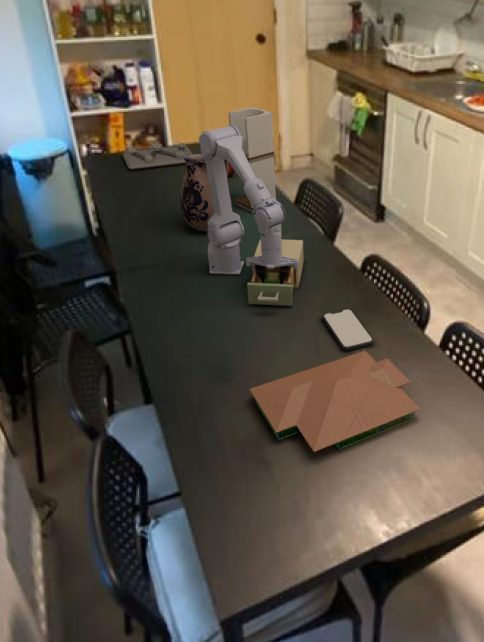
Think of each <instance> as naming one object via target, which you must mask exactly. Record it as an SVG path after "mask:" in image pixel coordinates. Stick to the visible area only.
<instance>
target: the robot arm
mask: <svg viewBox="0 0 484 642" xmlns="http://www.w3.org/2000/svg"><path fill="white" fill-rule="evenodd" d="M198 140H199V147H200V152H201V153H202V158H203V159H205V163H206V168H207V174H208V179H209V185H210V191H211V196H212V202H213V207H214V214H213V216H212V217H211V218H210V219H209V221H208V232H207V237H208V238H207V239H208V240H209V243H208V246H207V257H208V266H209V267H208V268H209V270H208V271H209V272H208V273H209V274H211V275H214V274H216V275H234V276H235V275H237V276H238V275H240V274H241V273H242V270H243V267H244V265H245V266H246V267H251V266H252V265H256V269H255V272H256V273H257V275H258V276H259V278H260V280H261V282H262V283H265V282H264V281H265V277H266V267H267V268H268V269H273V268H274V267H280V270H279V275H280V284H283V283H284V279H285V277H286V275H287V273H288V270H289V267H294V268H298V259H292V258H288V257H283V256H282V223H284V221H285V220H286V210H285V208H284V206H283V204H282V203H281V202H279V201H278V200H277V198H276V199H273V198H272V197H271V195H270V193H269V191H268V190H267V188H266V186H265V184H264V183H263V181H262V180H261V179H258V178H256V177H255V175H254V173H253V171H252V169H251V166H250V164H249V162H248V160H247V158H246V156H245V154H244V152H243V150H242V146H243V139H242V137H241V135H240V132H239V130H238V129H237V128H236V127H235V126H234V125H229V124H228V125H227V126H222V127H218V128H214V129H209V130H204V131H202V133H201V134H200V135H199V137H198ZM224 160H228V161H229V162H230V164H231V165H232V166H233V168H234V170H235V173H236V174H237V176H238V177H239V179H240V180H241V181H242V183H243V192H244V194H245V196H247V198H248V199H249V201H250V203H251V204H252V206H253V208H254V210H255V211H256V212H255V214H254V220H255V222H256V225H257V229H258V232H259V233H260V234H259V235H260V239H261V253H262V256H256V257H254V256H246V259H245V261H244V260H241V249H240V242H242V238H243V237H244V235H245V228H244V224H243V222H242V221H241V216H240V215H239V214H238V213H236V212H234V211H233V206H232V207H231V203H232V199H231V200H230V198H231V194H230V189H229V183H228V178H227V176H226V170H225V163H224Z"/></svg>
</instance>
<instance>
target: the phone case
mask: <svg viewBox="0 0 484 642" xmlns="http://www.w3.org/2000/svg"><path fill="white" fill-rule="evenodd" d="M322 321H323V322H324V324H325V326H326V327H327V328H328V330H329V332H330V333H331V335H332V336H333V337H334V339H335V340H336V342H337V344H338V345H339V347H340V348H341V350H342V351H344V352H351V351H355V350H359V349H364V348H367V347H371V346H373V344H374V338H373V336H371V334H370V333H369V331H368V330H367V329H366V327H365V326H364V325H363V323H362V322H361V321H360V320H359V318H358V317H357V315H356V314H355V313H354V312H353V310H352V309H351V308H350V309H349V308H345V309H340V310H336V311H330V312H327V313H326V312H325V313H323V315H322Z"/></svg>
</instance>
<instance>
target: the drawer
mask: <svg viewBox="0 0 484 642" xmlns="http://www.w3.org/2000/svg"><path fill="white" fill-rule="evenodd" d="M255 269H256V268H255ZM279 270H280V267H274V268H273V269H268V268H267V267H266V274H267V272H279ZM294 283H295V268H294V267H289V270H288V273H287V275H286V277H285V279H284V283H283V284H267V283H262V282H261V280H260V278H259V276H258V275H257V273H256V272H255V271H254V274H253V273H252V277H251V282H247V285H246V288H247V299H248V300H247V301H248V304H249V305H271V306H293V303H294V302H293V291H294V288H295V287H294Z"/></svg>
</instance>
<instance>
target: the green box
mask: <svg viewBox="0 0 484 642" xmlns="http://www.w3.org/2000/svg"><path fill="white" fill-rule="evenodd" d="M264 282H265V283H267V284H280V275H279V272H267V274H266V277H265V281H264Z"/></svg>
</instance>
